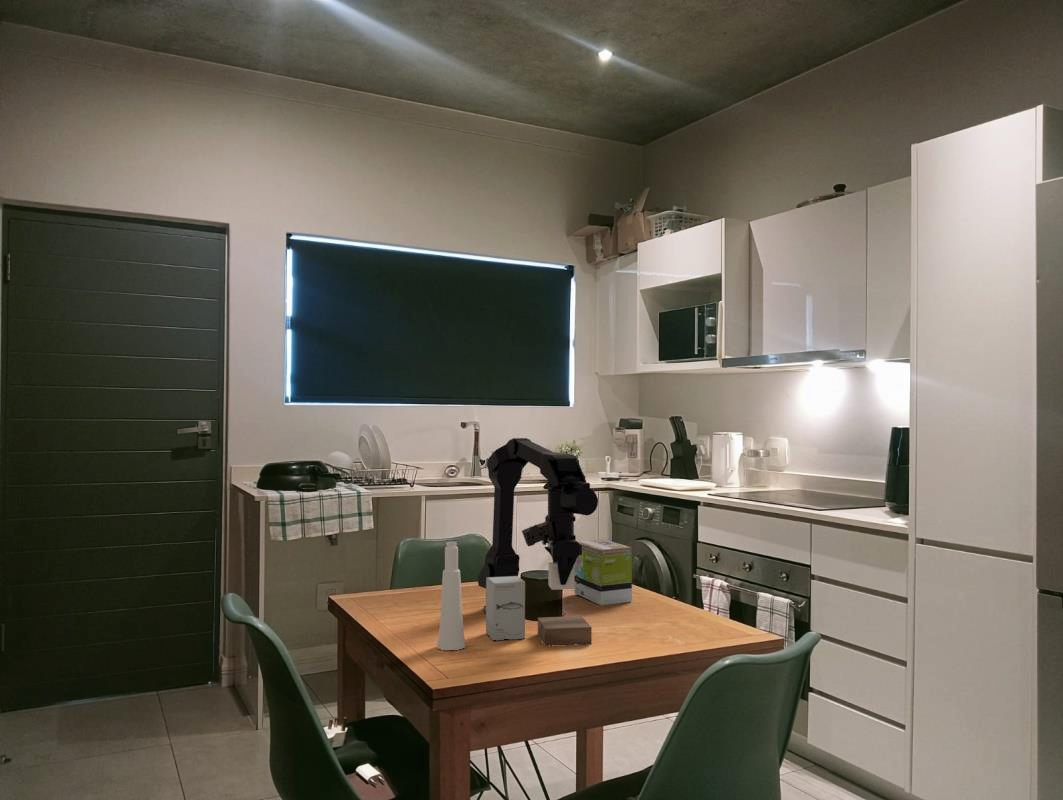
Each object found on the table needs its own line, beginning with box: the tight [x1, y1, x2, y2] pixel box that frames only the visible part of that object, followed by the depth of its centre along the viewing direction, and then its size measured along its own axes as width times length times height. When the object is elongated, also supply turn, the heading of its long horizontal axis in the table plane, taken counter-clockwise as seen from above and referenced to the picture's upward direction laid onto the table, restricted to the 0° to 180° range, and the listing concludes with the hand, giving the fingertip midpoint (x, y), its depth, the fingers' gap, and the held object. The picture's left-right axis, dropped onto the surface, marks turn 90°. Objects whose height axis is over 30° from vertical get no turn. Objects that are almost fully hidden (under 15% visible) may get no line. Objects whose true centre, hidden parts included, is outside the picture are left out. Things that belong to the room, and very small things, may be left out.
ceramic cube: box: [547, 561, 574, 591], centre depth 180 cm, size 5×5×5 cm
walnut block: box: [537, 615, 593, 647], centre depth 179 cm, size 10×10×4 cm
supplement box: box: [485, 575, 526, 641], centre depth 181 cm, size 7×7×13 cm
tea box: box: [573, 539, 633, 606], centre depth 220 cm, size 15×10×15 cm, turn 25°
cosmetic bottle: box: [436, 541, 466, 651], centre depth 173 cm, size 6×6×22 cm
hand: (561, 582), depth 180 cm, fingers closed on ceramic cube, 5 cm apart
